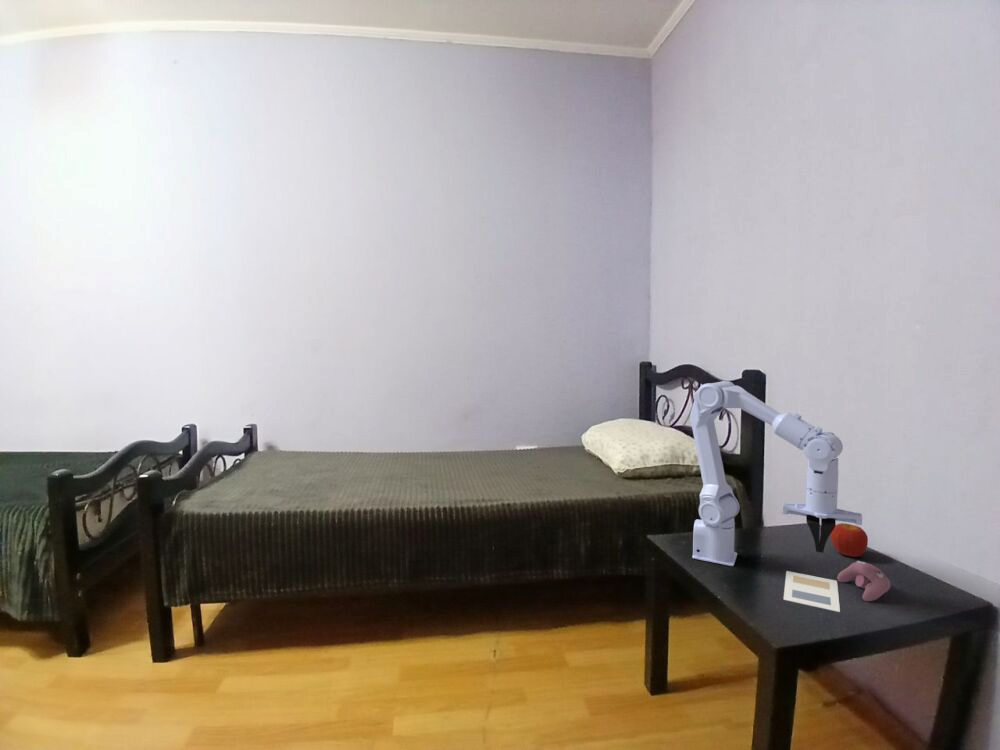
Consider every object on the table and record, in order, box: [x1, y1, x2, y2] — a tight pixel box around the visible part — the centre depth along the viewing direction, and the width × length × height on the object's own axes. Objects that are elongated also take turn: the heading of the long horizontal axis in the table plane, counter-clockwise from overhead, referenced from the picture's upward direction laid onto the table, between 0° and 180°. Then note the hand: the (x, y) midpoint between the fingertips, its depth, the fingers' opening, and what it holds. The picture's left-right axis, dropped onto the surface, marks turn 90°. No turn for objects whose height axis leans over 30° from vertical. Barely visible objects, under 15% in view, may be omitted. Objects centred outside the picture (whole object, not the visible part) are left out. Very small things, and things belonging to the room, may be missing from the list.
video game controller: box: [837, 560, 892, 602], centre depth 112 cm, size 10×5×7 cm, turn 179°
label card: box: [783, 570, 841, 613], centre depth 113 cm, size 10×15×1 cm, turn 149°
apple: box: [830, 522, 869, 558], centre depth 131 cm, size 8×8×8 cm
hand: (819, 550), depth 113 cm, fingers closed
